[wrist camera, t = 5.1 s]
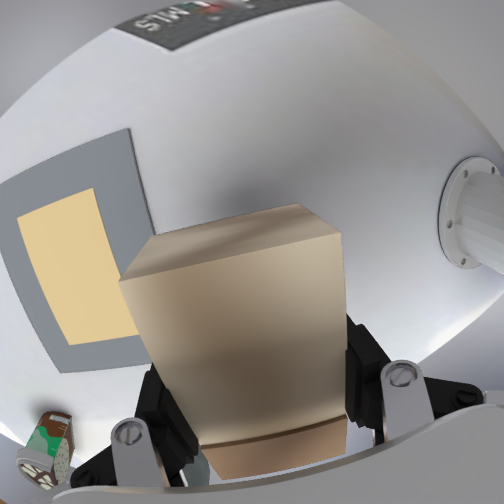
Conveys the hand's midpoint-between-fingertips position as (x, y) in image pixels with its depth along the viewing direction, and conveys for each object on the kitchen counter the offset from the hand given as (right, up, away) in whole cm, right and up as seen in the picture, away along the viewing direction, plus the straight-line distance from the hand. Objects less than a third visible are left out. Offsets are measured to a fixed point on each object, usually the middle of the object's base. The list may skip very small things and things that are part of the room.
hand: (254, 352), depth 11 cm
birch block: (0, 0, +1) cm, 1 cm away
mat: (-15, +2, +11) cm, 19 cm away
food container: (-28, -20, +17) cm, 38 cm away
